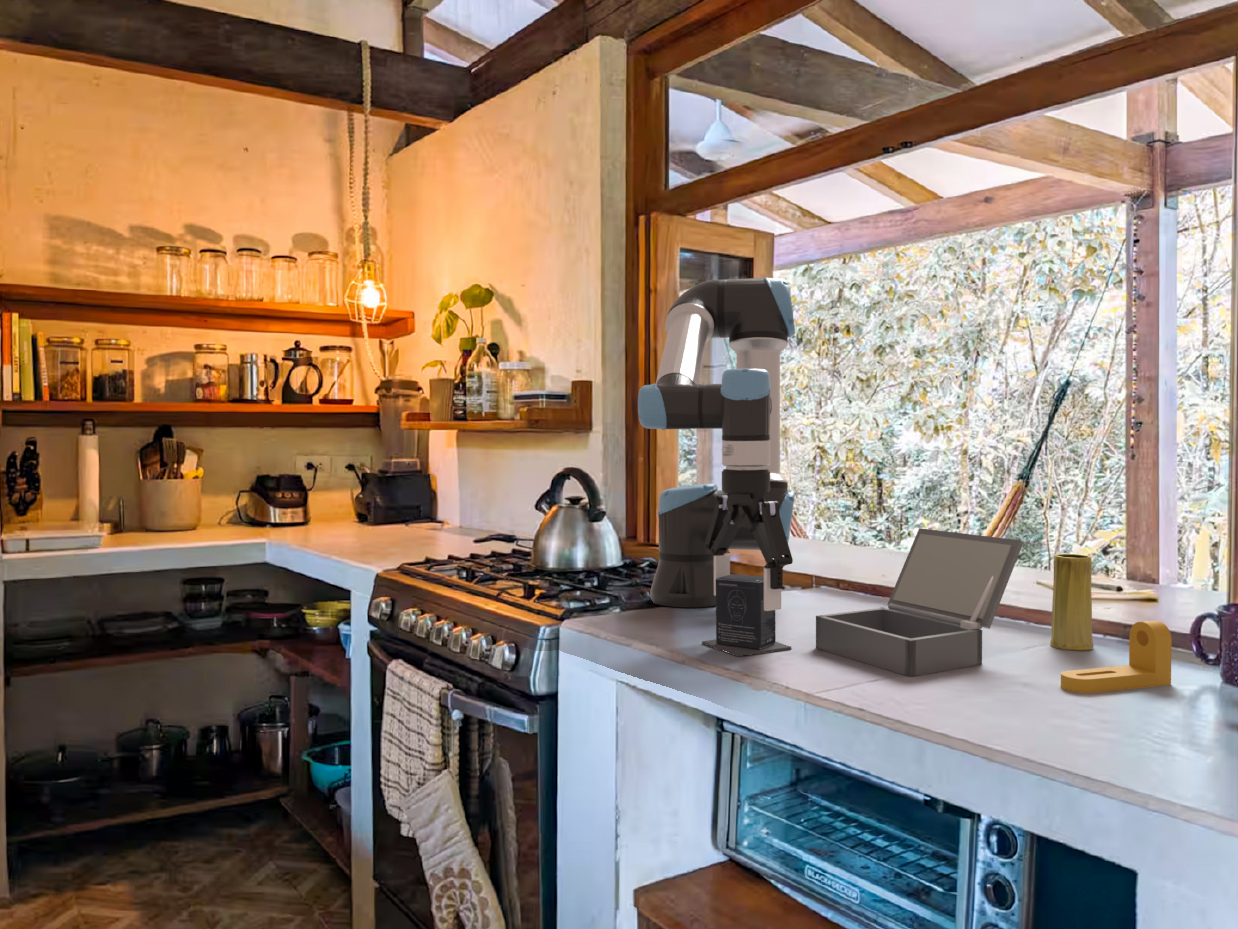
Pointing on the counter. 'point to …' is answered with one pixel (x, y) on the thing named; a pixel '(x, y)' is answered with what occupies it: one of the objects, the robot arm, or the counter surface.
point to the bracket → (1130, 664)
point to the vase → (1072, 603)
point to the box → (743, 612)
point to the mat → (746, 648)
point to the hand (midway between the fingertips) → (746, 602)
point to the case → (929, 607)
